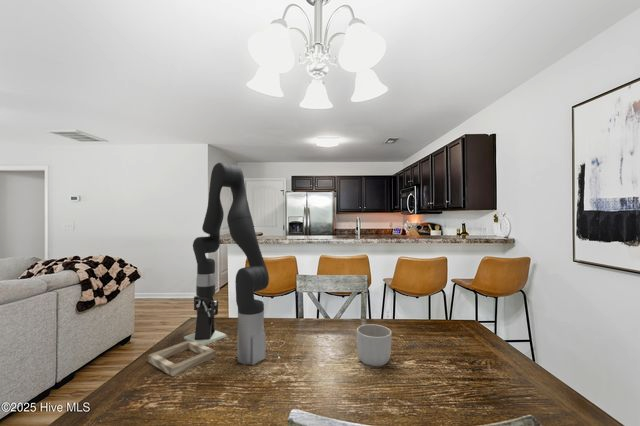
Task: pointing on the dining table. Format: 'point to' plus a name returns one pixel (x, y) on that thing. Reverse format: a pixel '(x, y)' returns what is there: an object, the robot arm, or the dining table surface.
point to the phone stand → (203, 325)
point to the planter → (374, 344)
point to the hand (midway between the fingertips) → (205, 322)
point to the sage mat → (215, 336)
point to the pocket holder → (175, 369)
